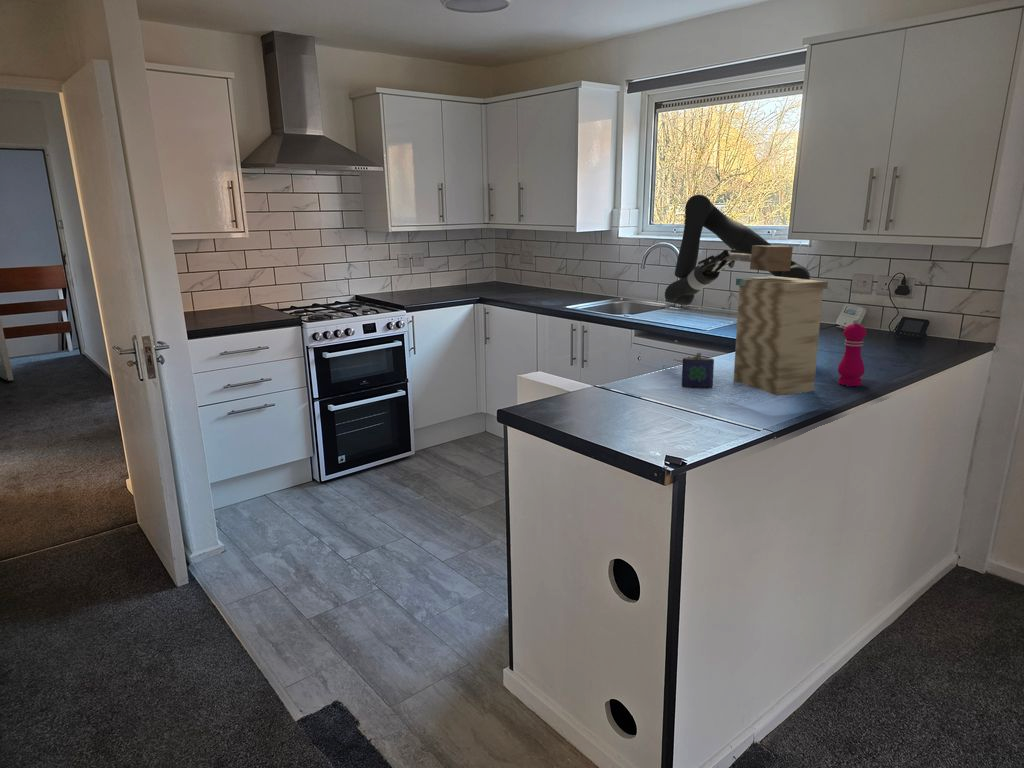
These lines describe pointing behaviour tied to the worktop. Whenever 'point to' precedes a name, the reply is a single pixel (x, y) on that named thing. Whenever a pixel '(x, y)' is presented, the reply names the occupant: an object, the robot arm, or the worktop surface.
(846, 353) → the pepper mill
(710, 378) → the flask
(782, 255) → the wooden mallet
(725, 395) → the worktop surface
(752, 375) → the stand
